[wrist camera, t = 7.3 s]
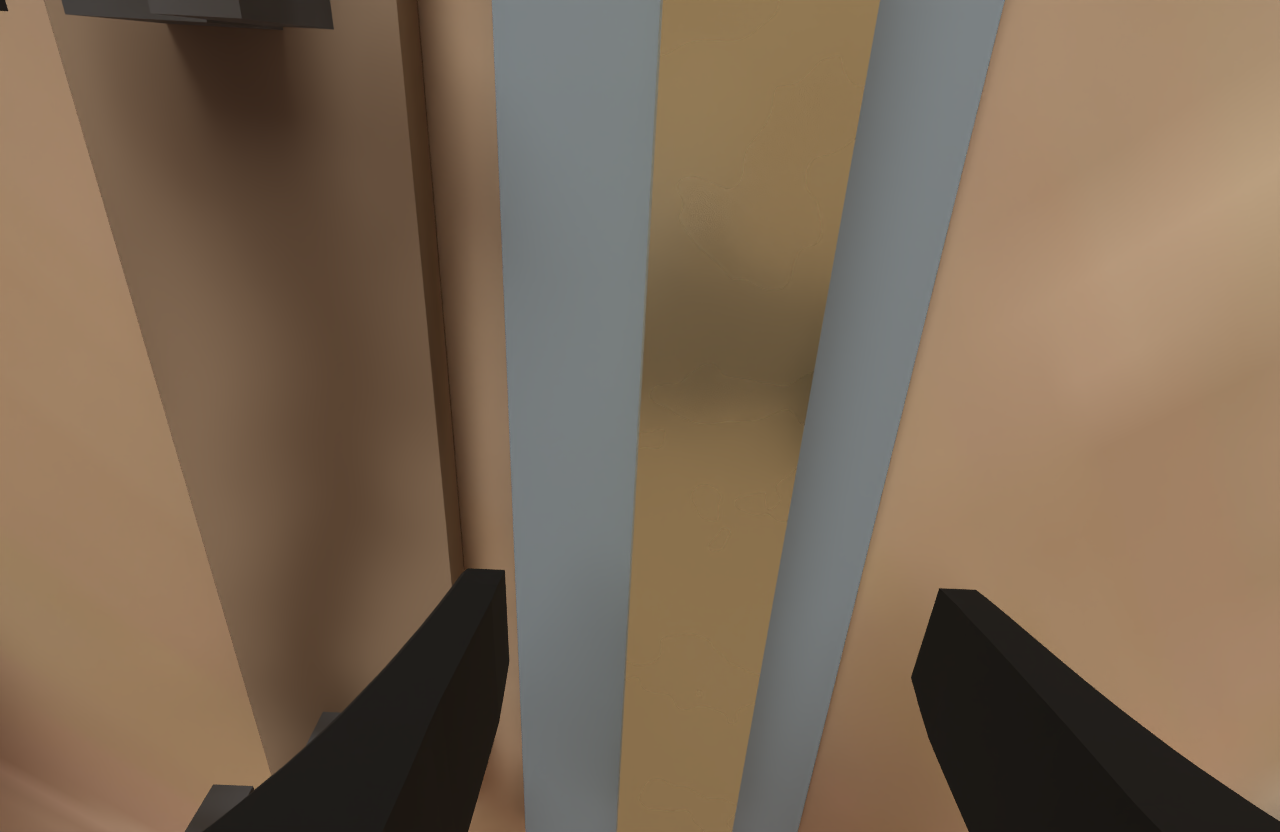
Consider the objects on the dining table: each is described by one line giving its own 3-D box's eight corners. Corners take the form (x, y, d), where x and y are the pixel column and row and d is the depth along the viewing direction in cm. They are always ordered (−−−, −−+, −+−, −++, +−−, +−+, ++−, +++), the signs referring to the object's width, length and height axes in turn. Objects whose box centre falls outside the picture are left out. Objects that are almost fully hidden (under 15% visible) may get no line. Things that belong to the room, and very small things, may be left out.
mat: (528, 821, 24) (526, 838, 23) (481, -462, 10) (472, -492, 10) (789, 832, 24) (793, 849, 23) (1091, -422, 10) (1116, -449, 10)
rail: (617, 804, 22) (612, 905, 20) (675, -281, 10) (684, -401, 8) (709, 808, 22) (718, 909, 20) (871, -270, 10) (948, -386, 8)
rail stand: (293, 753, 22) (180, 972, 17) (33, -224, 11) (-521, -486, 6) (480, 761, 22) (427, 981, 17) (399, -202, 11) (180, -441, 6)
